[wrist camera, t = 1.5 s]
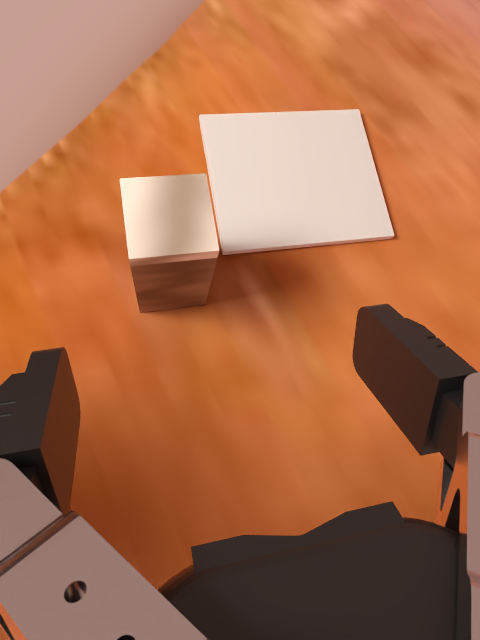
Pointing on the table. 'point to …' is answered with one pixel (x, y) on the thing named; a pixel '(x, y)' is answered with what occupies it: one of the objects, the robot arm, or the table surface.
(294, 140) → the white mat
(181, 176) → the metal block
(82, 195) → the table surface
